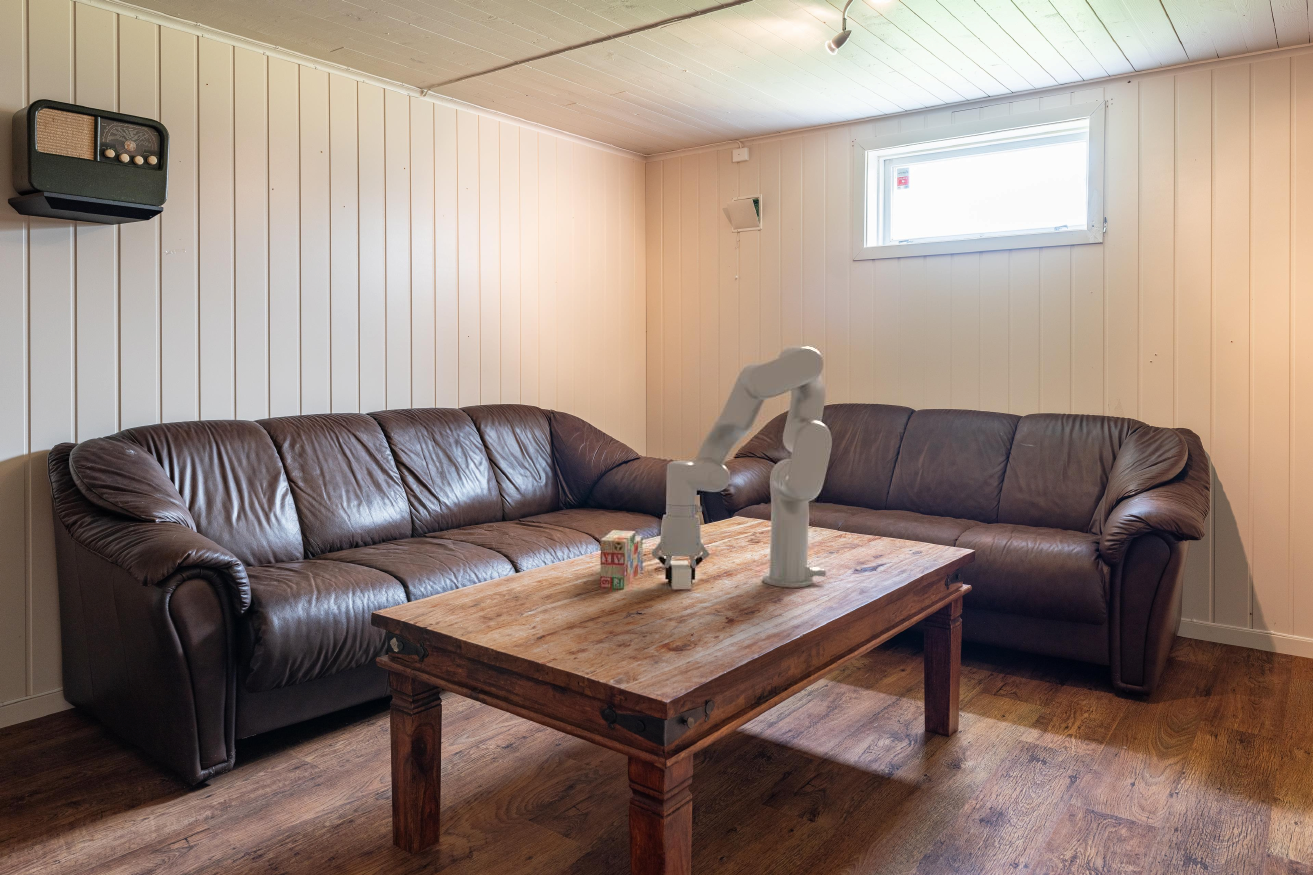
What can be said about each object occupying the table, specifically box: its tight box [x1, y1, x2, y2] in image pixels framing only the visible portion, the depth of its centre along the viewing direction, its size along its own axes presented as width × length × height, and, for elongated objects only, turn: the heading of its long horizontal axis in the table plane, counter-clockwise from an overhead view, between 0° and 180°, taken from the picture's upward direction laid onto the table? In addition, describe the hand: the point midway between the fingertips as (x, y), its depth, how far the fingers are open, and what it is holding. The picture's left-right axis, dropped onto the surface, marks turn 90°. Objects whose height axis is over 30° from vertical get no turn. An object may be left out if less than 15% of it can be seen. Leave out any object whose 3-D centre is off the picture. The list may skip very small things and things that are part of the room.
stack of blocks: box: [599, 529, 644, 590], centre depth 224 cm, size 21×6×12 cm, turn 169°
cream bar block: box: [670, 560, 692, 590], centre depth 218 cm, size 4×9×5 cm, turn 4°
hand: (680, 581), depth 218 cm, fingers closed on cream bar block, 4 cm apart
